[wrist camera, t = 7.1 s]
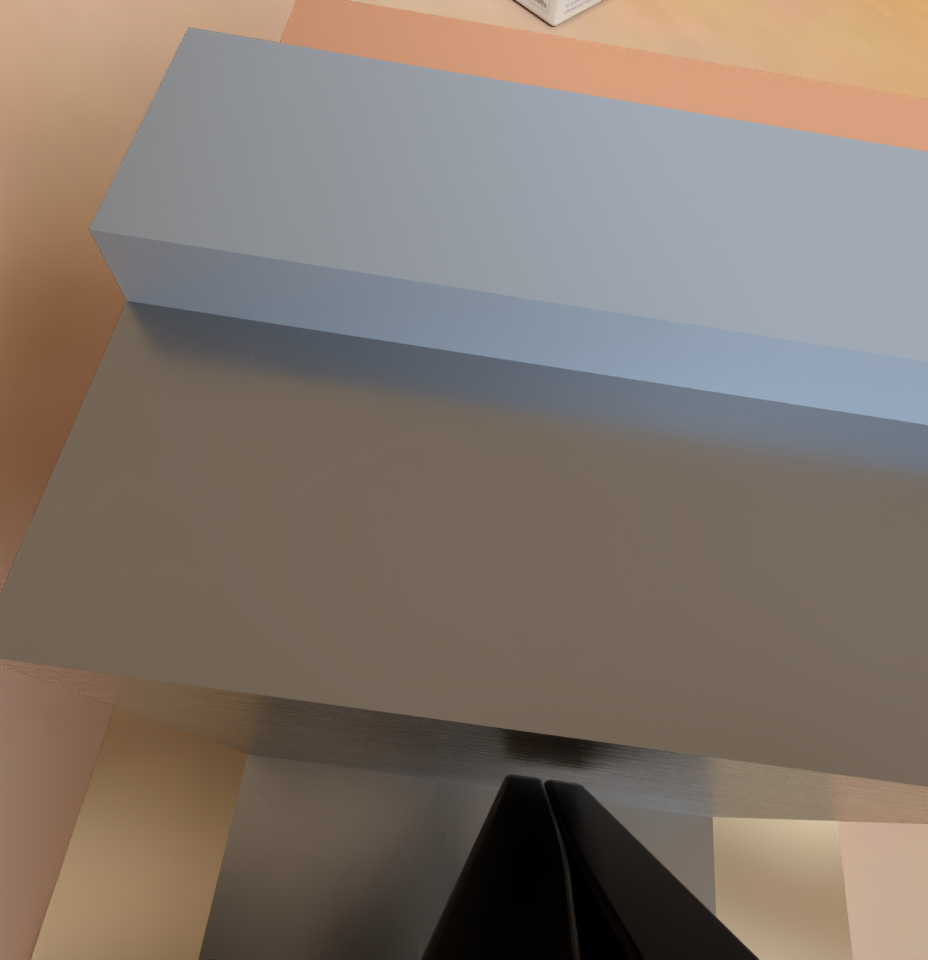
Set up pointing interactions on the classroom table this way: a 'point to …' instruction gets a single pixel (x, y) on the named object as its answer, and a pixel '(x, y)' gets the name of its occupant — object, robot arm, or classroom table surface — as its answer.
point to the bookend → (473, 607)
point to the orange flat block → (608, 71)
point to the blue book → (526, 226)
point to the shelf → (206, 823)
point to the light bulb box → (557, 8)
